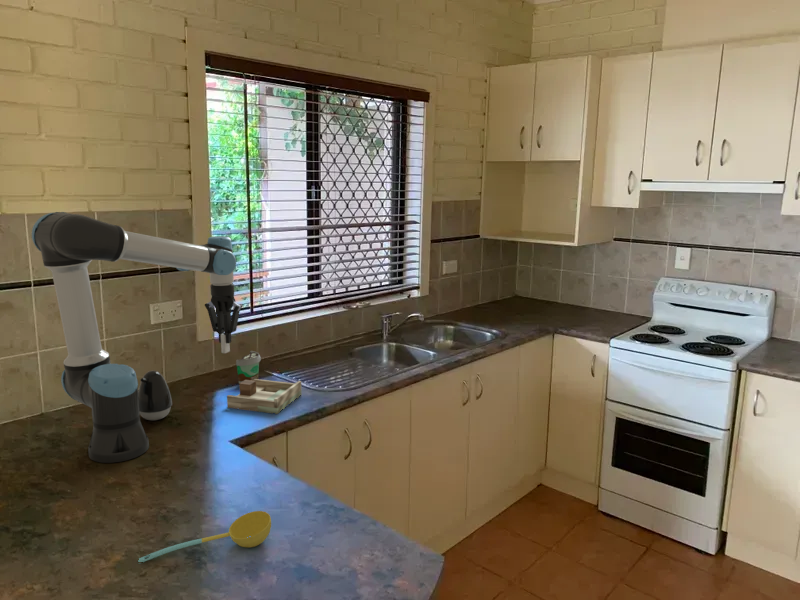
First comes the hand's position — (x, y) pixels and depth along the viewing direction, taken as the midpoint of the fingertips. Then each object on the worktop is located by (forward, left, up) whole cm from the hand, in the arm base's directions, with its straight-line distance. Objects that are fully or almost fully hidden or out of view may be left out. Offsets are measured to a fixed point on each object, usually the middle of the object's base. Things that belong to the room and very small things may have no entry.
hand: (225, 352), depth 209 cm
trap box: (0, -14, -16) cm, 21 cm away
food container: (+16, 0, -16) cm, 23 cm away
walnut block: (0, -8, -14) cm, 16 cm away
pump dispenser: (-23, +12, -16) cm, 30 cm away
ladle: (-79, -43, -16) cm, 91 cm away
